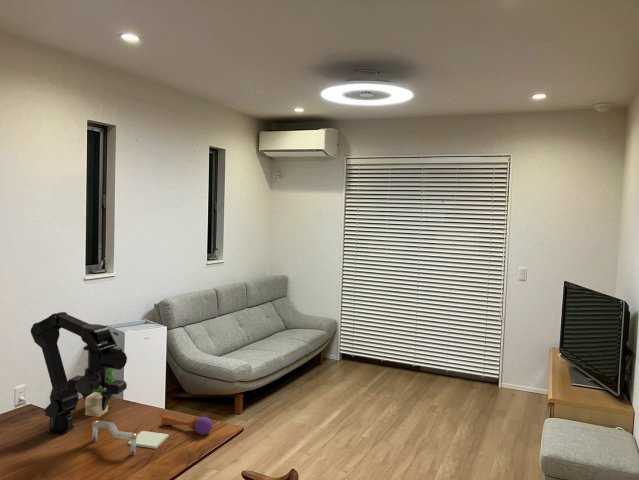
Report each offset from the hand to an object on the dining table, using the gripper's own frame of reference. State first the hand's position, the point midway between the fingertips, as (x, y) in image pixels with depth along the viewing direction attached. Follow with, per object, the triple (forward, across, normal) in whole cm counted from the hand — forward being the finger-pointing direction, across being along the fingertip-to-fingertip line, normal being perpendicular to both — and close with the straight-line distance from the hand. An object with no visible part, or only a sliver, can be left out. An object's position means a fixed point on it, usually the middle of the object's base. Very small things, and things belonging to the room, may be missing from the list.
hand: (96, 409), depth 171 cm
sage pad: (+11, +17, +5) cm, 21 cm away
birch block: (+1, 0, 0) cm, 1 cm away
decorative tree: (+11, -14, +26) cm, 32 cm away
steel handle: (+11, +8, -2) cm, 14 cm away
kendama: (+12, +25, +16) cm, 32 cm away
